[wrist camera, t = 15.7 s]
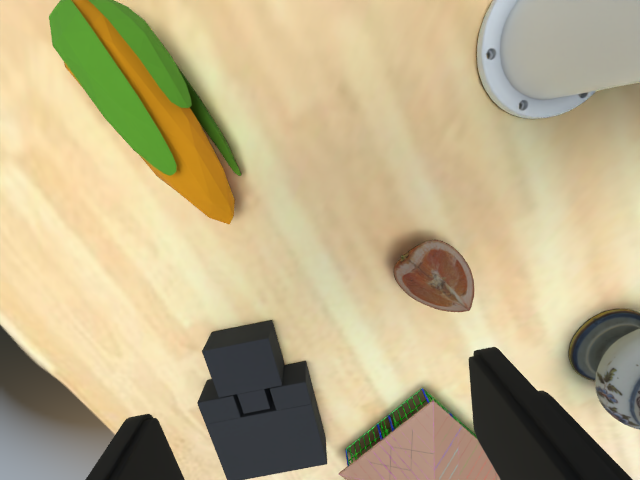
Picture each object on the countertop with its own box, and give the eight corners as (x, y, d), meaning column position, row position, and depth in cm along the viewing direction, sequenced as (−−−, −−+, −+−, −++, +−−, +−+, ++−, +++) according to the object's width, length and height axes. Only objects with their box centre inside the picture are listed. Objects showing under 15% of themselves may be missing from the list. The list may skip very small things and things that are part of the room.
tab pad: (272, 319, 36) (268, 338, 32) (289, 382, 38) (287, 405, 35) (211, 331, 36) (201, 351, 32) (233, 393, 38) (225, 417, 35)
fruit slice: (374, 264, 34) (385, 284, 29) (419, 217, 33) (438, 230, 28) (428, 308, 36) (446, 333, 31) (472, 266, 35) (498, 285, 30)
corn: (65, -69, 19) (259, 209, 24) (137, -14, 26) (275, 191, 31) (-16, 9, 20) (184, 257, 26) (74, 41, 28) (216, 229, 33)
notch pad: (306, 360, 37) (305, 381, 34) (325, 438, 41) (327, 464, 37) (206, 380, 38) (197, 403, 34) (234, 455, 41) (228, 482, 38)
